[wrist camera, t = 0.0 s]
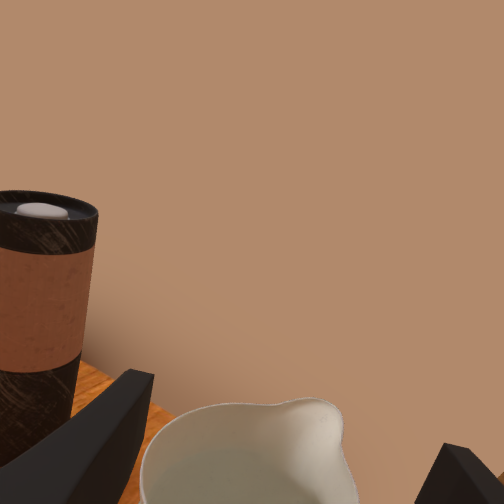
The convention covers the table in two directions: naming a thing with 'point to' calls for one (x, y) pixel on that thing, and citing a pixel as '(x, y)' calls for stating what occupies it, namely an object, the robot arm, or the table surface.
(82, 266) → the travel mug
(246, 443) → the pitcher
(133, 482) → the table surface
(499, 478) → the mug
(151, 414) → the table surface
